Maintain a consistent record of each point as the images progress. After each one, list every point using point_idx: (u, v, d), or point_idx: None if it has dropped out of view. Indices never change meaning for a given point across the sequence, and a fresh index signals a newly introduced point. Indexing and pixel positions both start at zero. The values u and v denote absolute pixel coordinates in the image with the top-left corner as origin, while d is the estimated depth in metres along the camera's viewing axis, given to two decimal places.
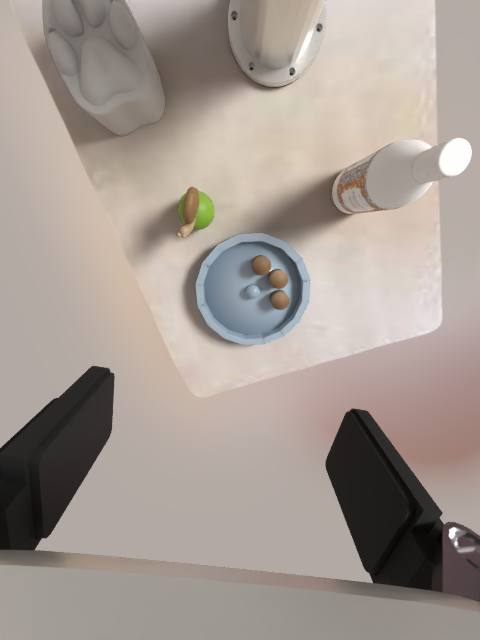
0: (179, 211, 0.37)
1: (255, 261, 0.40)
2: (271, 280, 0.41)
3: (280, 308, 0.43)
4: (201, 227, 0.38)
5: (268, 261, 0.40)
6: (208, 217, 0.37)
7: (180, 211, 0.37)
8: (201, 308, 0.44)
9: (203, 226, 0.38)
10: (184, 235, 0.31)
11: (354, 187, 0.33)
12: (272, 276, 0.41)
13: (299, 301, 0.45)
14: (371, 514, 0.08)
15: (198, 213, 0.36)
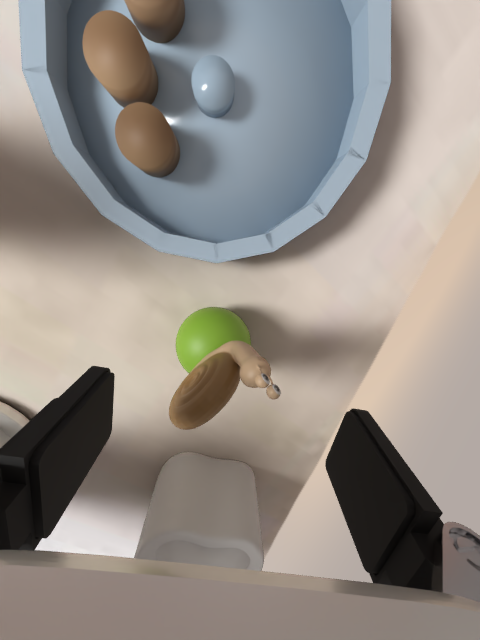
0: None
1: (153, 162, 0.14)
2: (137, 69, 0.13)
3: None
4: (223, 317, 0.17)
5: (119, 135, 0.14)
6: (196, 325, 0.16)
7: None
8: (363, 146, 0.15)
9: (218, 316, 0.17)
10: (259, 385, 0.09)
11: None
12: (128, 80, 0.13)
13: None
14: (371, 514, 0.08)
15: (207, 349, 0.16)
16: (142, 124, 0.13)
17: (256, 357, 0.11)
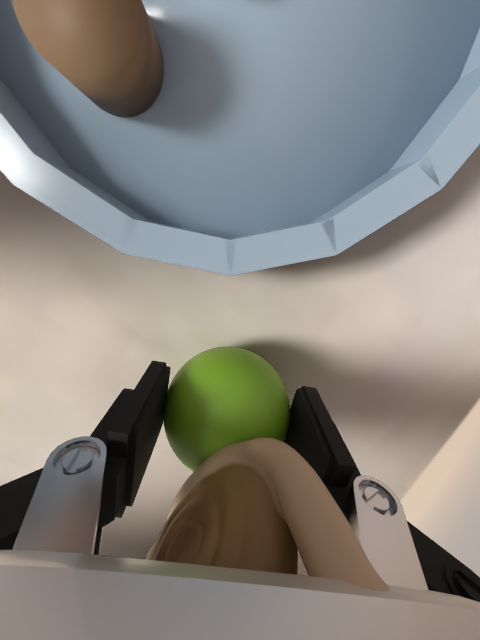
0: None
1: (100, 65, 0.07)
2: None
3: None
4: (246, 372, 0.10)
5: None
6: (197, 389, 0.09)
7: None
8: None
9: (237, 371, 0.09)
10: None
11: None
12: None
13: None
14: None
15: (218, 440, 0.08)
16: None
17: None
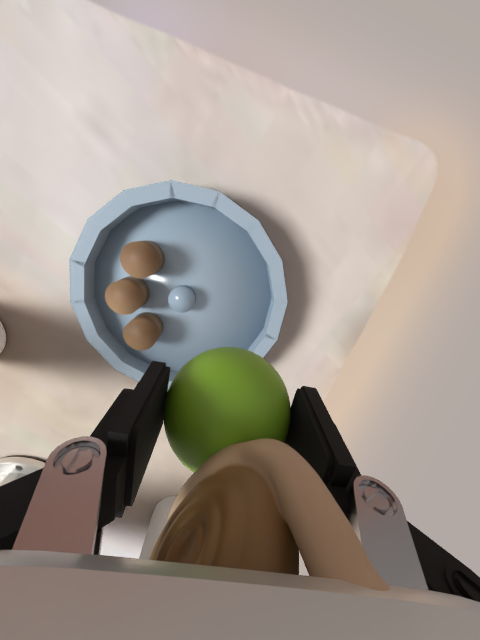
0: None
1: (145, 347, 0.24)
2: (135, 305, 0.22)
3: (145, 247, 0.21)
4: (247, 372, 0.09)
5: (125, 335, 0.23)
6: (198, 390, 0.09)
7: None
8: (274, 333, 0.24)
9: (238, 372, 0.09)
10: None
11: None
12: (130, 310, 0.22)
13: (110, 227, 0.22)
14: None
15: (218, 440, 0.08)
16: (138, 330, 0.23)
17: None
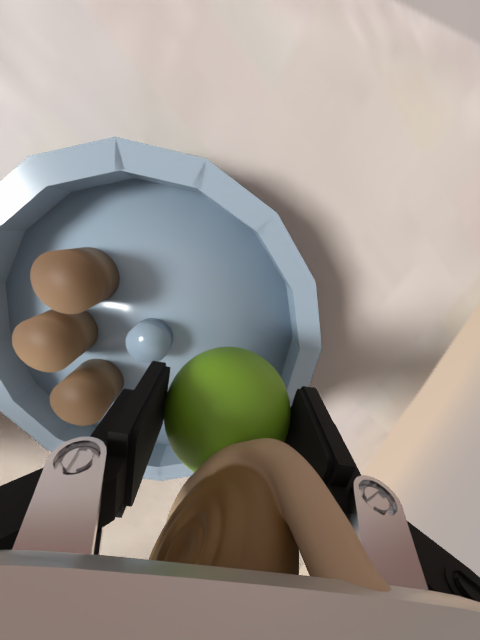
0: None
1: (89, 421, 0.14)
2: (67, 358, 0.13)
3: (74, 261, 0.11)
4: (247, 372, 0.09)
5: (54, 404, 0.14)
6: (198, 389, 0.09)
7: None
8: None
9: (238, 372, 0.09)
10: None
11: None
12: (59, 366, 0.13)
13: (20, 225, 0.13)
14: None
15: (218, 440, 0.08)
16: (75, 396, 0.14)
17: None
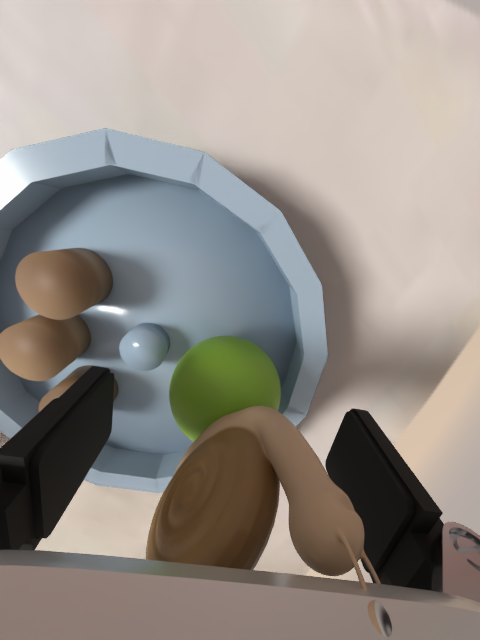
0: None
1: None
2: (56, 366, 0.12)
3: (62, 263, 0.11)
4: (241, 355, 0.11)
5: None
6: (199, 369, 0.10)
7: None
8: (302, 405, 0.14)
9: (234, 354, 0.11)
10: None
11: None
12: (48, 374, 0.12)
13: (6, 224, 0.12)
14: (371, 514, 0.08)
15: (217, 411, 0.10)
16: None
17: (330, 498, 0.05)
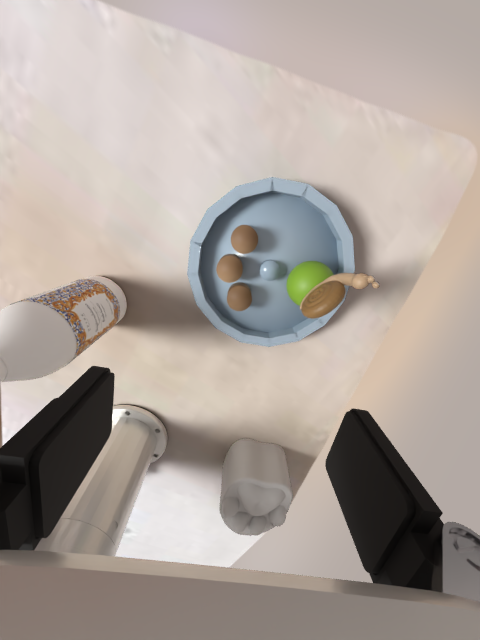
0: None
1: (243, 308, 0.31)
2: (238, 275, 0.29)
3: (250, 229, 0.27)
4: (321, 265, 0.27)
5: (228, 299, 0.30)
6: (305, 269, 0.27)
7: None
8: None
9: (318, 264, 0.27)
10: (371, 280, 0.20)
11: (94, 335, 0.27)
12: (234, 279, 0.29)
13: (219, 215, 0.28)
14: (371, 514, 0.08)
15: (314, 283, 0.26)
16: (239, 295, 0.30)
17: (361, 273, 0.21)
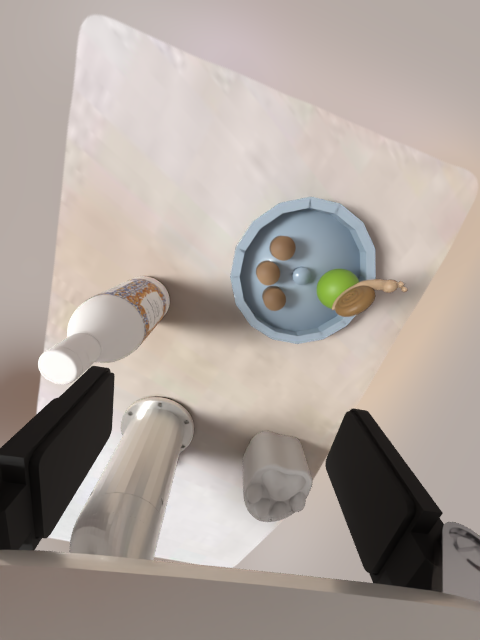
0: None
1: (277, 309, 0.35)
2: (276, 279, 0.33)
3: (289, 240, 0.32)
4: (349, 272, 0.32)
5: (265, 300, 0.34)
6: (336, 276, 0.31)
7: None
8: None
9: (346, 271, 0.32)
10: (401, 285, 0.24)
11: (152, 328, 0.30)
12: (272, 282, 0.33)
13: None
14: (371, 515, 0.08)
15: (344, 287, 0.31)
16: (275, 296, 0.34)
17: None
